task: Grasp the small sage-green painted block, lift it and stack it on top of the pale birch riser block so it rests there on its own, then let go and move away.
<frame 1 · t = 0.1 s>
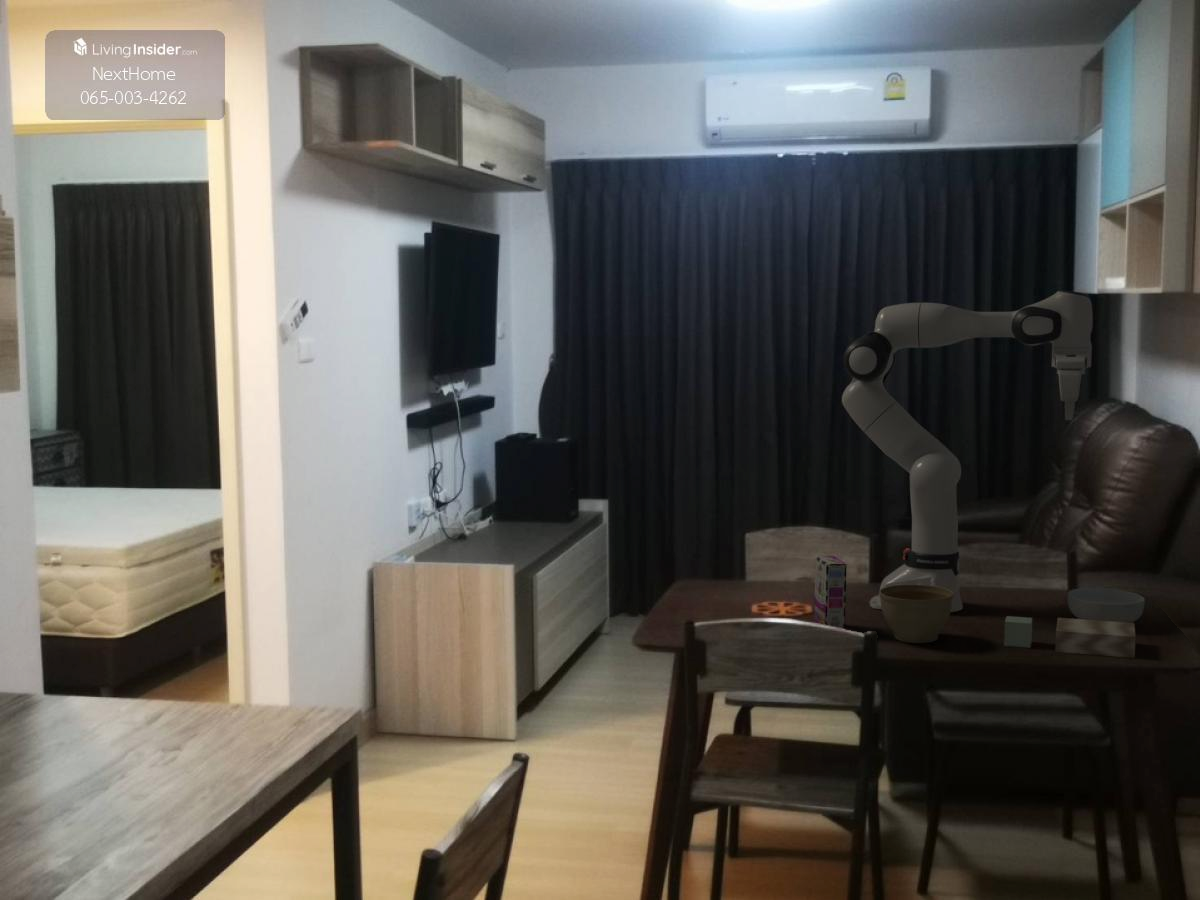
hand: (1069, 418, 317), 48 cm above the table, fingers open, 8 cm apart
planter bowl: (915, 639, 303), on the table
birch riser: (1094, 649, 294), on the table
sage block: (1017, 644, 298), on the table
cereal bowl: (1104, 625, 315), on the table
candy bar box: (829, 629, 312), on the table
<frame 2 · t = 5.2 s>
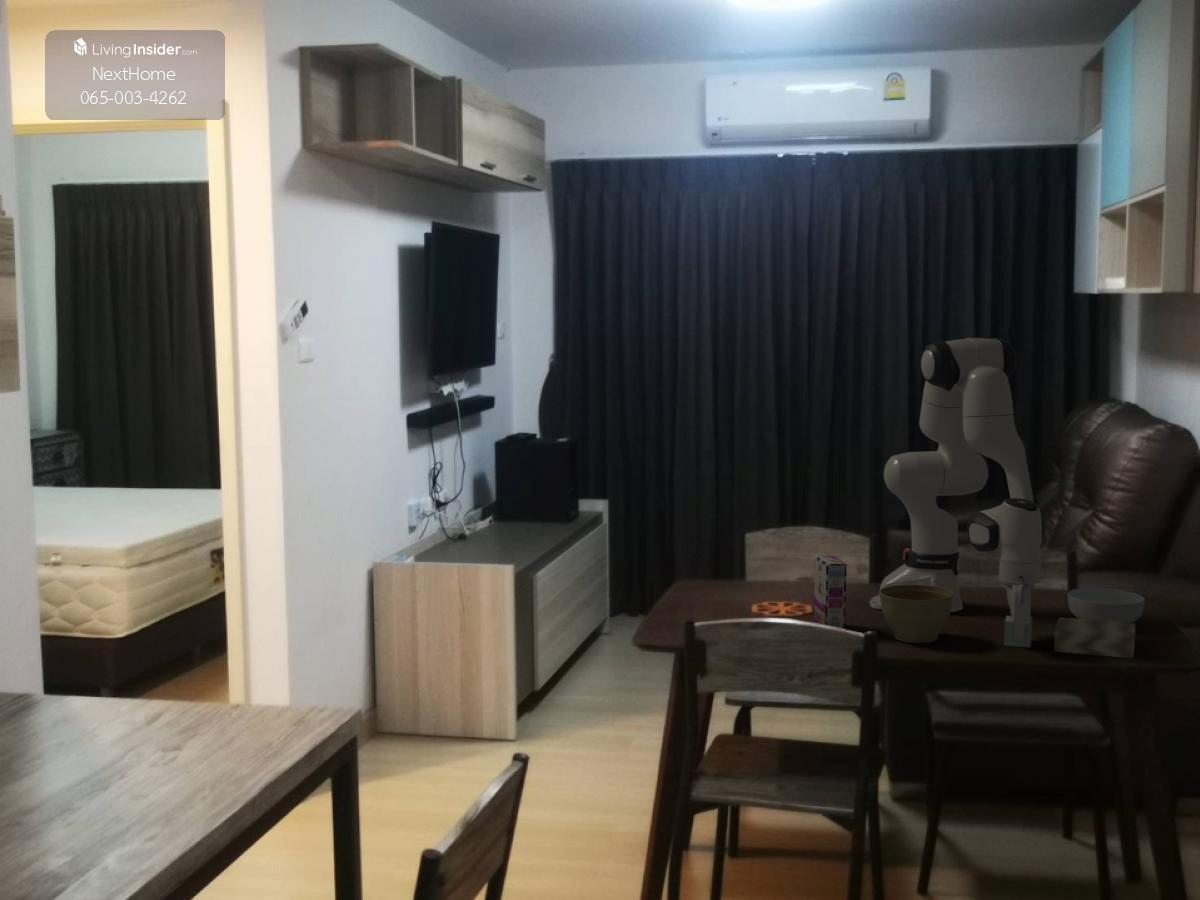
hand: (1018, 634, 297), 2 cm above the table, fingers closed on sage block, 6 cm apart
sage block: (1017, 643, 298), on the table, touching gripper
everything else where it was.
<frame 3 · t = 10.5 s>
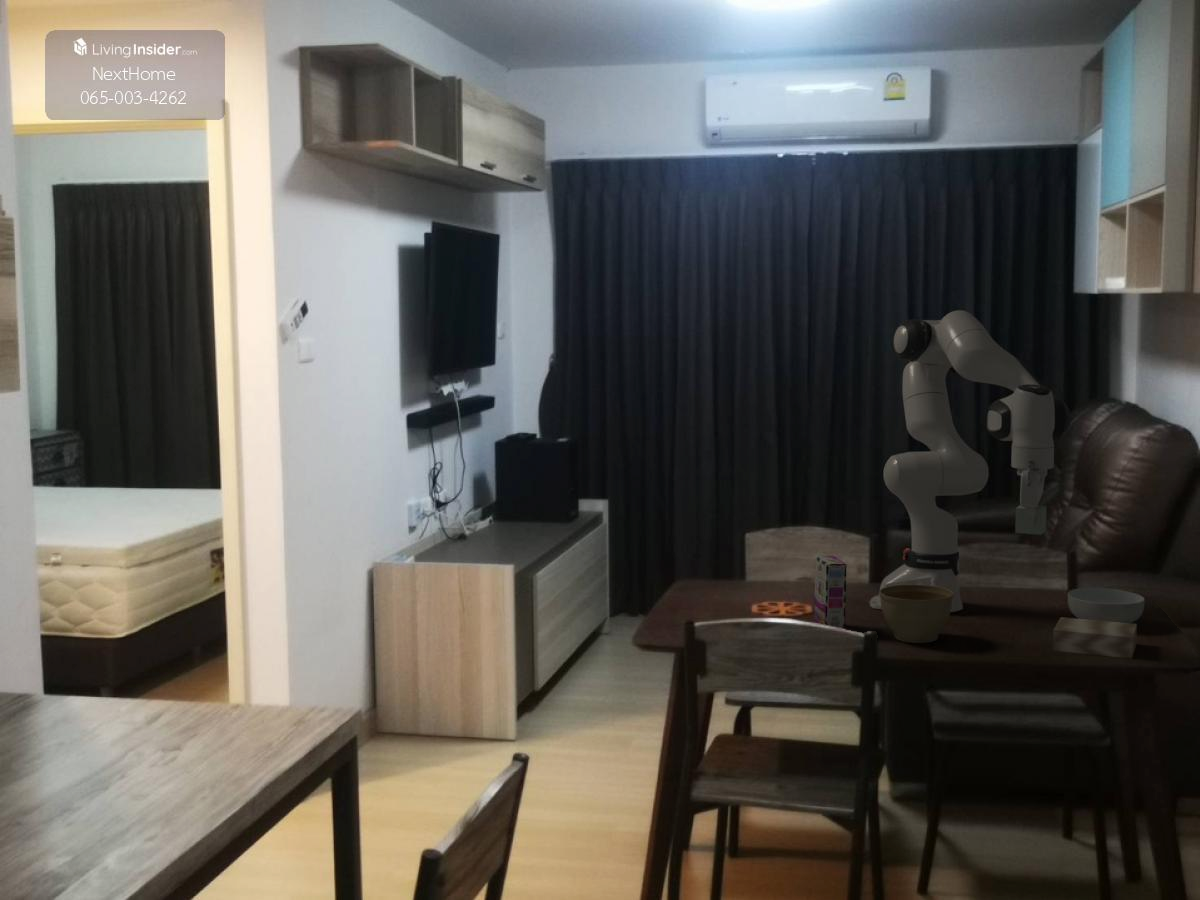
hand: (1030, 522, 294), 27 cm above the table, fingers closed on sage block, 6 cm apart
sage block: (1030, 531, 294), point 25 cm above the table, touching gripper
everything else where it was.
when the fingers open (9 cm above the table, at t = 15.9 s): sage block drops 2 cm, resting on birch riser.
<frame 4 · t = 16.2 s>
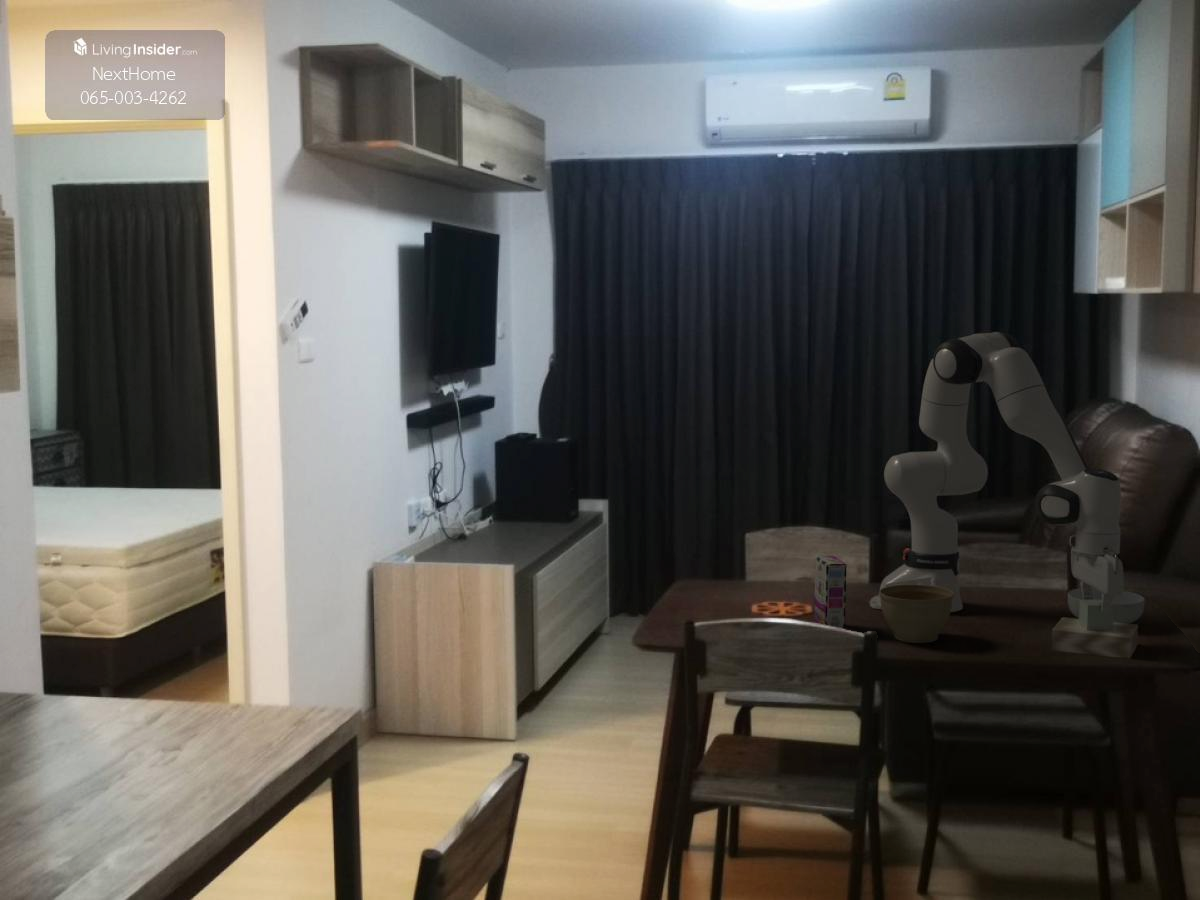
hand: (1096, 606, 293), 9 cm above the table, fingers open, 8 cm apart
birch riser: (1094, 649, 294), on the table, touching sage block
sage block: (1095, 627, 293), point 5 cm above the table, touching birch riser
everything else where it was.
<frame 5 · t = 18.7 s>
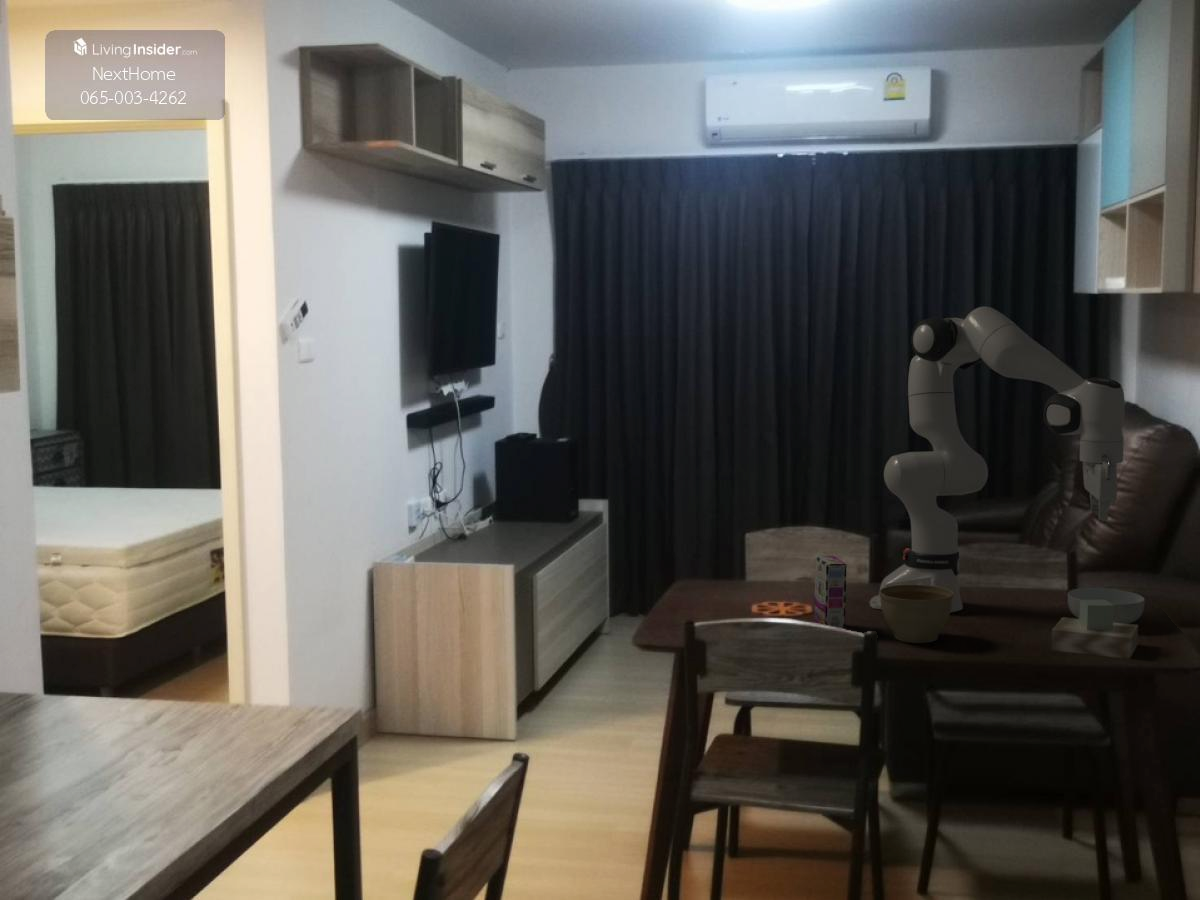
hand: (1099, 516, 291), 29 cm above the table, fingers open, 8 cm apart
nothing on the table moved.
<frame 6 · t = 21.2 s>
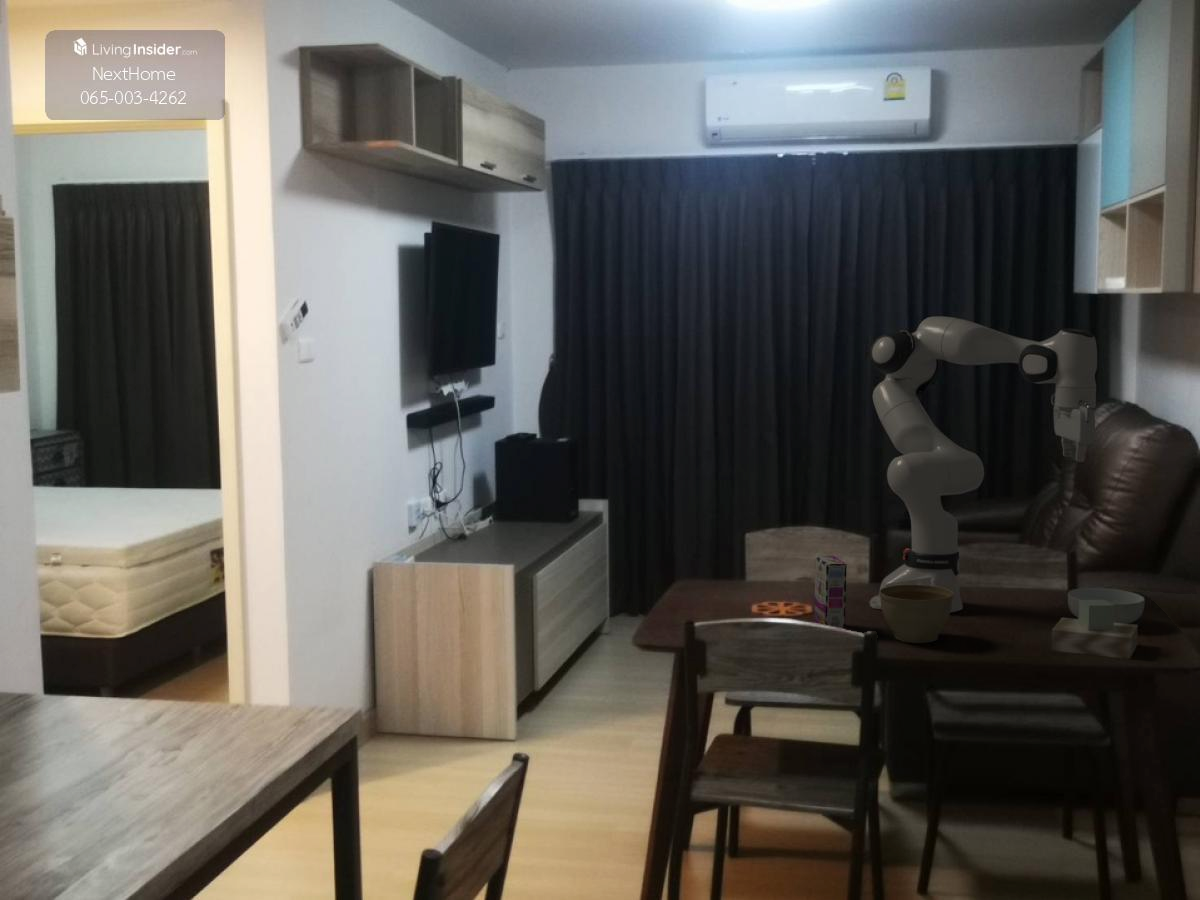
hand: (1073, 459, 310), 39 cm above the table, fingers open, 8 cm apart
nothing on the table moved.
at the end: sage block inside the target area on the birch riser (0.1 cm from its centre), point 5.0 cm above the birch riser's base; sage block tilted 0°; the gripper is holding nothing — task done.
